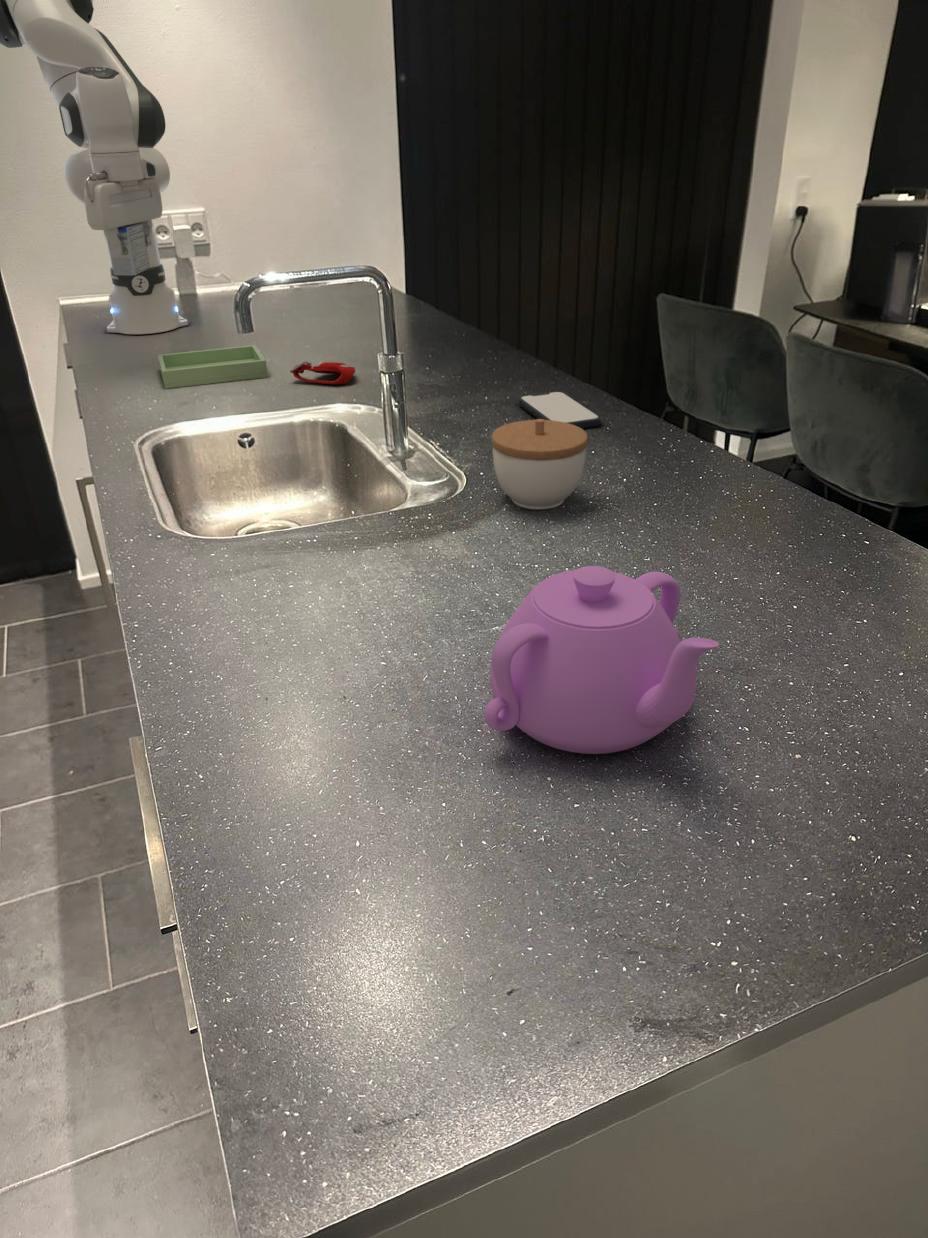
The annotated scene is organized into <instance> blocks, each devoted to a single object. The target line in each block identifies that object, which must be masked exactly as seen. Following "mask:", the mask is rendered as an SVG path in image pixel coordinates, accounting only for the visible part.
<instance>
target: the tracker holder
mask: <svg viewBox="0 0 928 1238" xmlns="http://www.w3.org/2000/svg"><path fill="white" fill-rule="evenodd" d="M305 371H309V372H313V373H316V374H324V375H339V377H338V378H337V379H335V380H320V379H310V378H306V377H303V376H301V375H300V374H304V373H305ZM289 373H290V374H292V375H293V377H294V378H296V379H297V380H300V381H303V382H306V383H314V384H325V385H339V386H341V385H345V384H347V383H349V382H350V381H351V379H352V378H353V376H354V374H355V373H356V367H354V366H349V365H347V364H346V363H344V362H339V361H326V362H322V363H320V364H319V365H314V366H312V362H311V361H307V360H304V361H302V362H300V363H298V364H296V365H295V366H294V367H292V368H291V369H290V370H289Z"/></svg>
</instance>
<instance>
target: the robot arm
mask: <svg viewBox="0 0 928 1238" xmlns="http://www.w3.org/2000/svg"><path fill="white" fill-rule="evenodd" d="M94 10H95V8H94V0H0V45H1V46H3V47H5V48H7V49H14V48H21V47H23V45H25V46H26V47H27V48H28V49H29V50H30V51H31V53H33V54H34V55H35V56H36V59H37V62H38V65H39V68H40V71H41V73H42V76H43V78H44V81H45V84H46V86H47V88H48V90H49V91H50V94H51V96H52V98H53V100H54V102H55V104H56V107H57V109H58V110H59V114H60V119H61V123H62V129H63V132H64V135H65V136H66V138H67V139H69V140H70V141H71V142H72V144H74V145H76V146H77V147H79V148H83V149H82V150H80V151H79V150H78V151H77V152H74V153H71V154H70V155H68V157H67V158H66V159H65V162H64V166H63V178H64V182H65V184H66V187H67V188H68V191H69V192H70V193H71V195H73V197H74V198H75V199H76V200H78V201H80V203H82V204H83V205H84V206H85V214H86V221H87V224H88V225H89V228H90V229H92V230H93V231H102V234H103V236H104V240H105V244H106V248H107V253H108V257H109V262H110V269H109V270H110V271H109V272H110V279H111V283H112V284H113V285H114V286H113V289H112V291H111V292H110V293H109V295H108V304H109V308H110V310H109V311H110V314H111V317H112V321H111V322H110V323H109V324H108V325H107V327H106V332H107V333H113V334H114V333H115V334H116V333H118V334H124V335H150V334H158V333H163V332H168V331H173V330H175V329H178V328H181V327H185V326H189V321H188V319H186V318H184V317H183V316H181V315H180V313H179V307H178V304H177V299H176V293H175V290H174V289H172V287H171V286H169V285H168V284H167V282H166V271H165V269H164V265H163V264H162V262H161V258H160V252H159V246H158V241H157V235H156V232H155V230H154V228H153V222H152V220H156V219H161V217H162V215H163V202H162V195H161V193H163V192H164V191H166V189H168V187H169V184H170V181H171V172H170V171H171V170H170V167H169V163H168V161H167V159H166V158H165V156H164V154H163V153H162V152H160V151H159V150H158V149H157V148H155V146H157V145H158V143H159V142H160V141H161V139H162V138H163V136H164V134H165V132H166V119H165V118H166V117H165V113H164V110H163V107H162V105H161V103H160V101H159V100H158V99H157V97H156V96H155V95H154V94H153V93H152V92H151V91H150V89H148V88H147V87H146V86H145V85H143V83H142V82H141V81H140V79H139V78H138V77H137V75H135V72H134V71H133V70H132V69H131V67H130V66H129V64H127V62H126V61H125V59H124V58H123V57H122V55H121V54H120V53H119V51H118V50H117V49H116V47H115V46H114V44H113V43H112V42H111V40H109V38H108V37H107V36H106V35H105V34H104V32H102V31H100V30H98V29H97V28H96V27H93V26H92V25H91V24H90V23H91V21H92V18H93V14H94ZM139 222H142V223H143V228H144V234H145V240H146V246H147V252H148V258H149V264H150V268H148V269H146V270H144V271H142V272H140V273H138V274H137V275H132V276H124V275H114V272H113V267H112V262H111V257H110V251H109V246H108V241H109V243H110V244H111V248H112V252H113V253H114V254H122V253H124V252H125V249H124V244H123V243H121V242H120V240H119V238H118V236H117V234H118V227H122V226H126V225H131V224H135V223H139ZM107 240H108V241H107Z"/></svg>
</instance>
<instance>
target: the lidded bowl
mask: <svg viewBox="0 0 928 1238" xmlns="http://www.w3.org/2000/svg"><path fill="white" fill-rule="evenodd" d="M588 442H589V436H588V433H587V432H586V430H584V428H583V429H582V428H580V427H578V426H575V425H573V424H569V423H565V422H560V421H552V420H544V419H537V418H536V419H528V420H526V419H525V420H518V421H513V422H509V423H506V424H503V425H501V426H499V427H497V428H495V430H493V432H492V434H491V446H492V463H493V471H494V474H495V478H496V480H497V483H498V485H499V486H500V488H501V490H502V491H503V492H504V494H506V495H507V496H508V498H510V499H511V502H512V503H513V504H515V505H516V506H518V507H520V508H523V509H528V510H549V509H550V510H551V509H554V508H557V507H559V506H561V505H562V504H564V502H565V500H566V499H567V498H569V496H570V495H571V494H572V493H573V492H575V490H576V488H577V487H578V485H579V484H580V482H581V480H582V477H583V473H584V470H585V463H586V457H587V448H588Z"/></svg>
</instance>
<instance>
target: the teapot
mask: <svg viewBox="0 0 928 1238" xmlns="http://www.w3.org/2000/svg"><path fill="white" fill-rule="evenodd" d="M660 587H661V590H660V596H659V600H658V599H657V598H656V596H655V594H654V593H653V592H654V591H655V590H657V589H658V588H660ZM680 601H681V587H680V585H679V582H678V581H677V580H676V579H675V578H674V577H673V576H671V575H669V574H667V573H665V572H662V571H655V570H654V571H649V572H646V573H644V574H642V575H640V576H639V577H637V578H636V579H635V578H633V577H631V576H628V575H626V574H623V573H619V572H615V571H612V570H611V569H609V568H607V567H604V566H599V565H587V566H582V567H579V568H577V569H572V570H566V571H561V572H558V573H556V574H553V575H551V576H549V577H546V578H544V579H542V580H541V581H540V582H539V583H538V584H536V586H535V587H534V588H533V589H531V591H529V593H528V594H527V595H525V597H524V598H523V600H522V602H520V603H519V605H518V606H517V608H516V609H515V611H514V612H513V613H512V615H511V616H510V618H509V619H508V621H507V622H506V624H505V626H504V628H503V629H502V631H501V633H500V636H499V638H498V639H497V641H496V643H495V645H494V647H493V649H492V653H491V665H490V674H489V676H490V678H489V685H490V691H491V694H492V697H493V698H492V699H491V700H490V701H489V702H488V703H487V704H486V705H485V708H484V711H483V718H484V721H485V723H486V725H487V727H489V728H490V729H493V730H495V731H501V732H502V731H503V732H506V731H510V730H512V729H513V728H515V726H516V727H517V728H518V729H519V730H521V731H522V732H523V733H525V734H526V735H527V736H529V737H531V738H532V739H534V740H536V741H537V742H539V743H541V744H544V745H546V746H549V747H551V748H554V749H557V750H560V751H565V752H570V753H575V754H582V755H583V754H585V755H586V754H587V755H601V754H612V753H618V752H622V751H627V750H629V749H632V748H635V747H637V746H639V745H642V744H644V743H645V742H647V741H649V740H651V739H653V738H654V737H656V736H657V735H659V734H661V733H663V731H665V730H666V729H667V728H668V727H670V726H671V725H672V724H674V723H676V722H677V721H678V720H680V719H681V718H683V717H684V716H685V715H686V714H687V713H688V711H689V710H690V708H691V707H692V706H693V704H694V700H695V697H696V694H697V684H698V683H697V673H698V672H697V671H698V670H697V668H698V662H699V660H700V657H701V656H702V655H703V654H704V652H708V651H709V650H712V649H716V648H717V647H719V646H720V643H719V642H718V641H716V640H713V639H710V638H705V637H694V636H693V637H688V638H685V639H683V640H682V636H681V634H680V632H679V630H678V629H677V627H675V626H674V622H675V619H676V616H677V613H678V610H679V605H680Z"/></svg>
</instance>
